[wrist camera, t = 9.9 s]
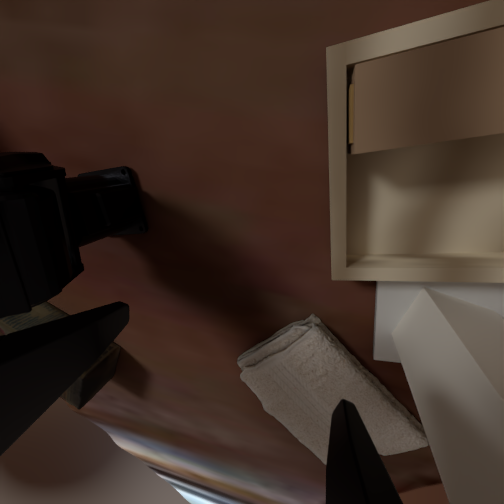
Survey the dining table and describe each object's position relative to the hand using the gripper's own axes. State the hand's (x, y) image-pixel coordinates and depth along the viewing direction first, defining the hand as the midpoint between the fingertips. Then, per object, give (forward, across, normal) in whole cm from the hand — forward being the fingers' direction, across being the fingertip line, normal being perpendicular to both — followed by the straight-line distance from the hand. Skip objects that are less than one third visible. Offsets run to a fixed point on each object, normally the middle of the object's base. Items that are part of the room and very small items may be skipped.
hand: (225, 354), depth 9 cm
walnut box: (+12, -5, -11) cm, 17 cm away
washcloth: (+14, -9, +15) cm, 22 cm away
